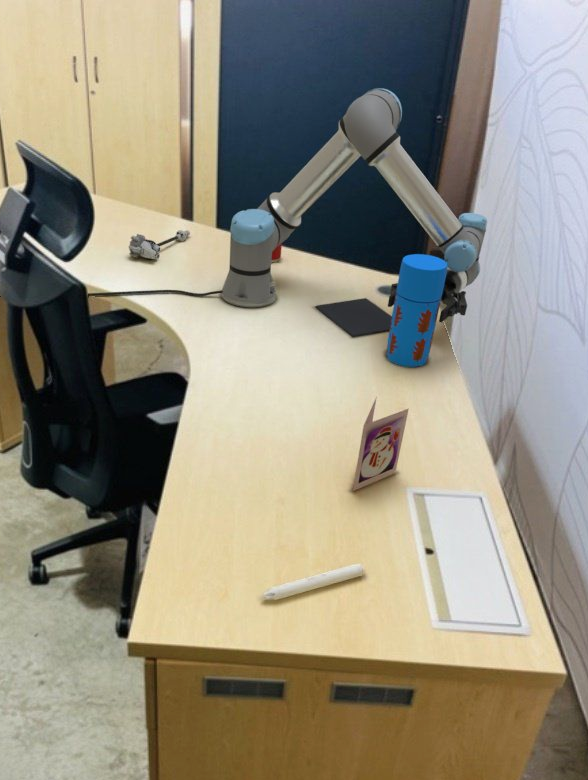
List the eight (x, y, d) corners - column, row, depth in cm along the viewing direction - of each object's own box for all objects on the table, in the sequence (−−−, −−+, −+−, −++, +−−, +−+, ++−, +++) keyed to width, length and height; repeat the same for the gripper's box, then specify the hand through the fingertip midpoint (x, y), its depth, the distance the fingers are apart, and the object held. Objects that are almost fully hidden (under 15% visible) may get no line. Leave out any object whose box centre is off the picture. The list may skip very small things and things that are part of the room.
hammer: (201, 227, 252) (154, 246, 228) (198, 246, 256) (151, 267, 232) (176, 217, 254) (126, 236, 231) (173, 237, 258) (124, 257, 234)
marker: (264, 606, 119) (265, 595, 117) (258, 597, 120) (259, 586, 119) (362, 577, 125) (364, 567, 124) (356, 569, 127) (358, 559, 125)
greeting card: (355, 493, 144) (367, 427, 135) (330, 473, 149) (340, 408, 140) (398, 475, 150) (412, 410, 141) (372, 456, 155) (384, 393, 146)
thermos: (430, 352, 195) (451, 258, 180) (424, 370, 187) (445, 273, 172) (389, 344, 197) (406, 251, 183) (381, 361, 189) (398, 265, 175)
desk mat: (352, 337, 200) (353, 335, 199) (315, 307, 214) (315, 305, 213) (405, 328, 206) (405, 326, 206) (365, 299, 220) (365, 298, 220)
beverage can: (280, 263, 240) (283, 226, 233) (260, 262, 240) (263, 224, 233) (280, 256, 245) (283, 219, 238) (261, 255, 245) (263, 218, 238)
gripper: (489, 310, 195) (460, 338, 181) (401, 285, 206) (367, 309, 191) (496, 282, 191) (467, 308, 176) (406, 258, 201) (371, 281, 187)
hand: (415, 309), depth 184 cm, fingers open, 13 cm apart
